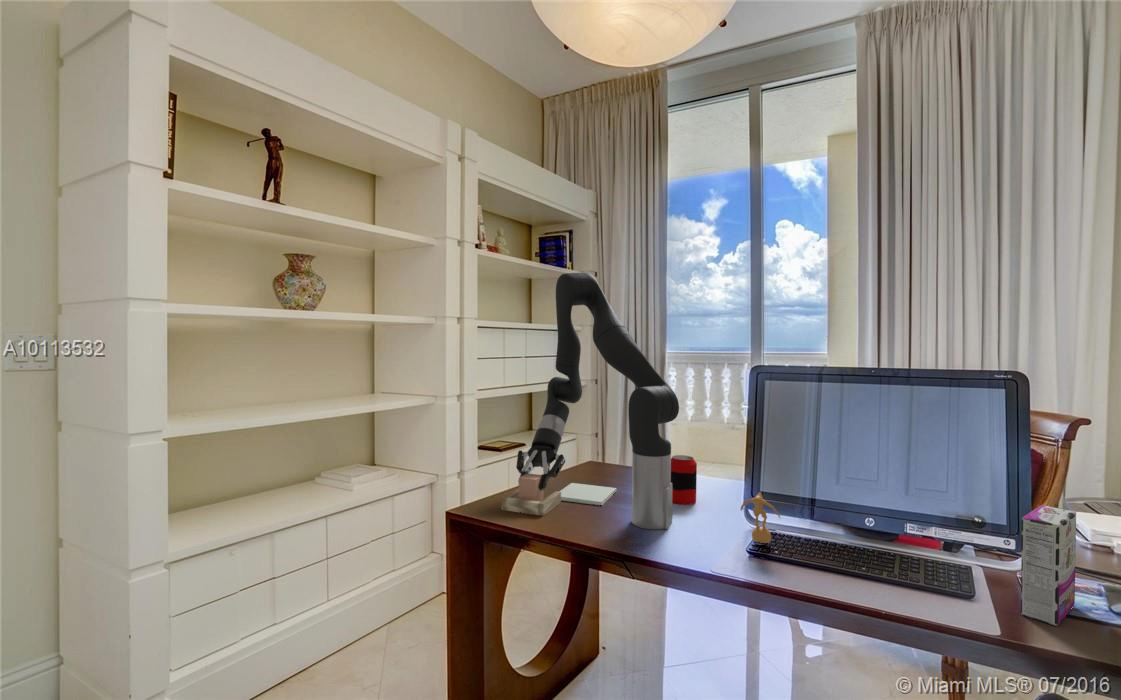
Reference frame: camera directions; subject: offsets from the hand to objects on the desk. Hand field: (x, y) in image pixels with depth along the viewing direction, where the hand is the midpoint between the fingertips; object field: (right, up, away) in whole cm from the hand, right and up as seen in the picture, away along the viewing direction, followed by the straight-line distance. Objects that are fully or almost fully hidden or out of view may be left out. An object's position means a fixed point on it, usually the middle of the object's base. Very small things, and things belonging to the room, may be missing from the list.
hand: (530, 487), depth 142 cm
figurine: (+51, -7, -26) cm, 57 cm away
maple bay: (0, -5, 0) cm, 5 cm away
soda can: (+41, -6, +6) cm, 42 cm away
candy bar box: (+89, -8, -52) cm, 103 cm away
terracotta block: (0, -5, 0) cm, 5 cm away
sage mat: (+15, -5, +11) cm, 19 cm away
